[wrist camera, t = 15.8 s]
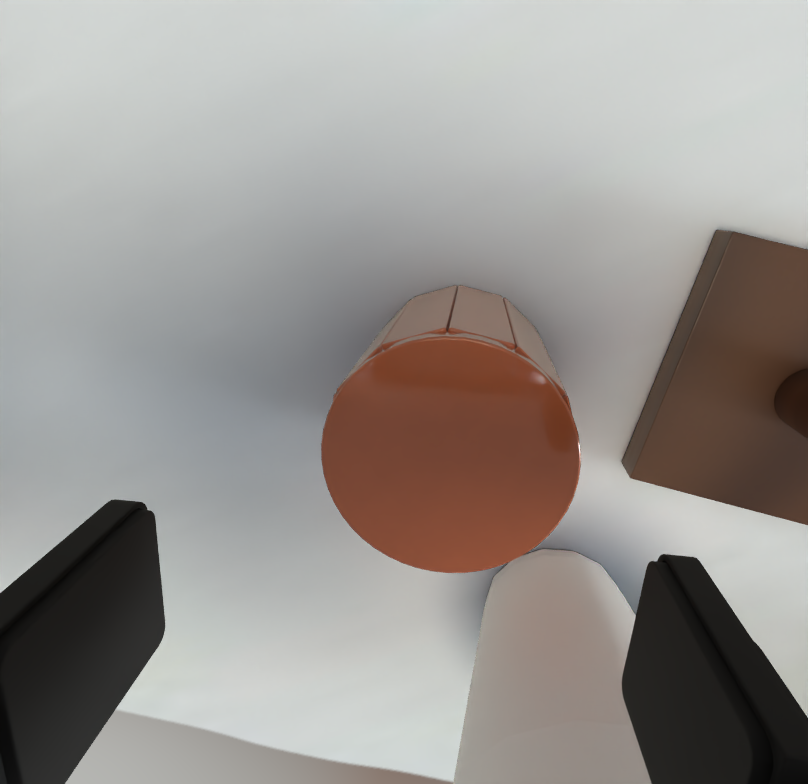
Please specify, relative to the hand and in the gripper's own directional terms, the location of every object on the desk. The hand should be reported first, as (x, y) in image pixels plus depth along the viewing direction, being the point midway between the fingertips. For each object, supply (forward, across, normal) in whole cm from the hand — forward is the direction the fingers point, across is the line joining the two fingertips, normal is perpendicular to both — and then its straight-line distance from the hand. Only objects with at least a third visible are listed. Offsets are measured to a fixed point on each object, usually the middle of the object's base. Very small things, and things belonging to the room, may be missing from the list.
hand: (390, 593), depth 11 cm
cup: (+14, -1, 0) cm, 15 cm away
